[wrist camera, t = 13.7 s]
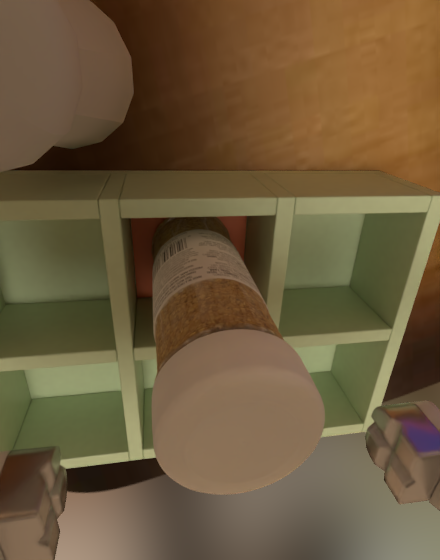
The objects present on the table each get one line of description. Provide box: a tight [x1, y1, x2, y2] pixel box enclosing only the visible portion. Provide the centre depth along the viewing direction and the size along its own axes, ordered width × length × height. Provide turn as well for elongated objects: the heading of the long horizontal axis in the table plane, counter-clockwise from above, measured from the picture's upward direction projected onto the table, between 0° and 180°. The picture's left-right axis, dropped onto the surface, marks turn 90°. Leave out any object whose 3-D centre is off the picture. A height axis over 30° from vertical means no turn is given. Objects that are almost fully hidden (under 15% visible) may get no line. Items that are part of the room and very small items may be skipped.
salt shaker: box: [0, 0, 134, 172], centre depth 11 cm, size 6×6×13 cm
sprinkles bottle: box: [151, 217, 325, 494], centre depth 15 cm, size 5×5×13 cm
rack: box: [0, 170, 440, 469], centre depth 21 cm, size 23×15×6 cm
